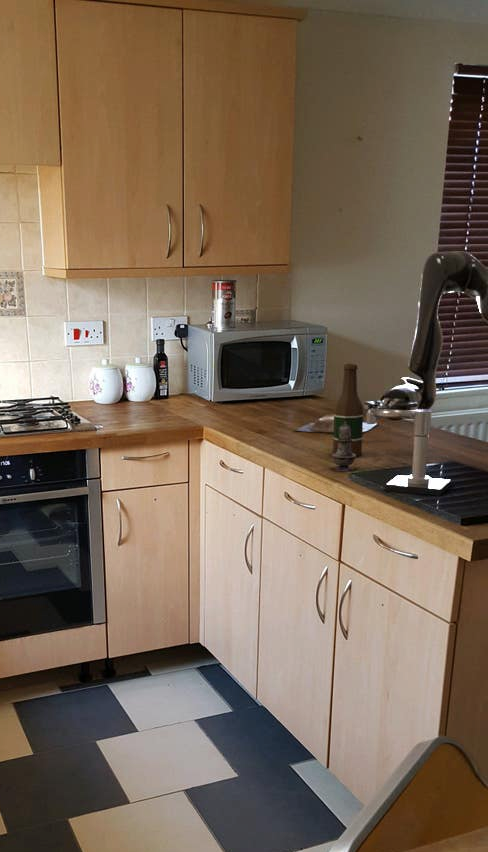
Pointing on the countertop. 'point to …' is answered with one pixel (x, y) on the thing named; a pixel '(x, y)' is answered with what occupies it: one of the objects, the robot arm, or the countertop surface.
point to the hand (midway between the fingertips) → (381, 412)
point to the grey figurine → (344, 450)
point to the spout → (420, 418)
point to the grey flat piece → (328, 425)
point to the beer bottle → (349, 411)
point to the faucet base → (418, 488)
